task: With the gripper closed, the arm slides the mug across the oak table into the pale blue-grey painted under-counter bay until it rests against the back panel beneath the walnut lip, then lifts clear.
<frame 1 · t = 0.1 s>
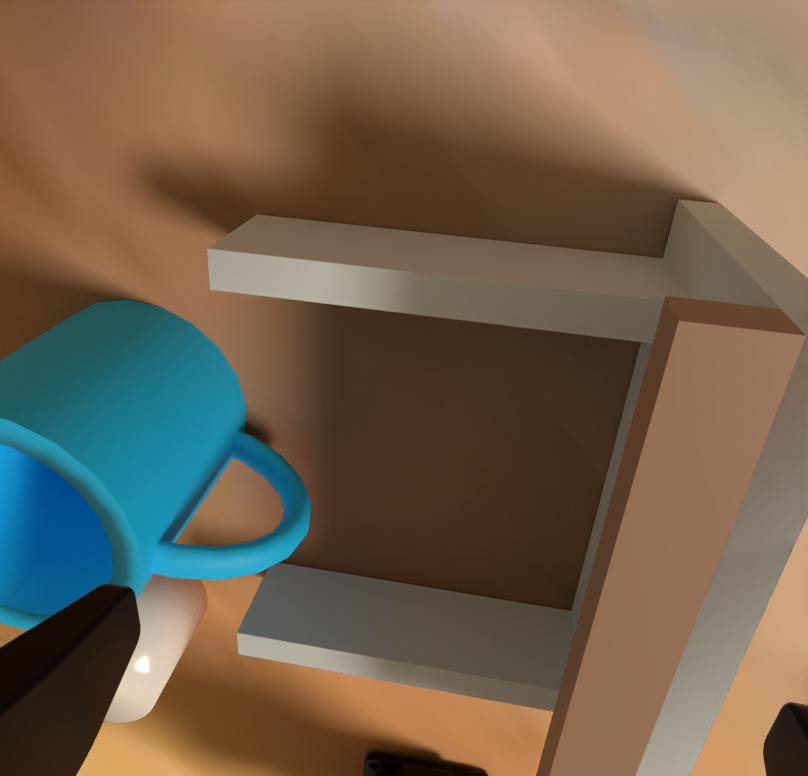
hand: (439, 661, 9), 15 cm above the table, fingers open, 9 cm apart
mug: (195, 411, 26), on the table
counter bay: (431, 449, 25), on the table
cream rounded cylinder: (150, 587, 31), on the table
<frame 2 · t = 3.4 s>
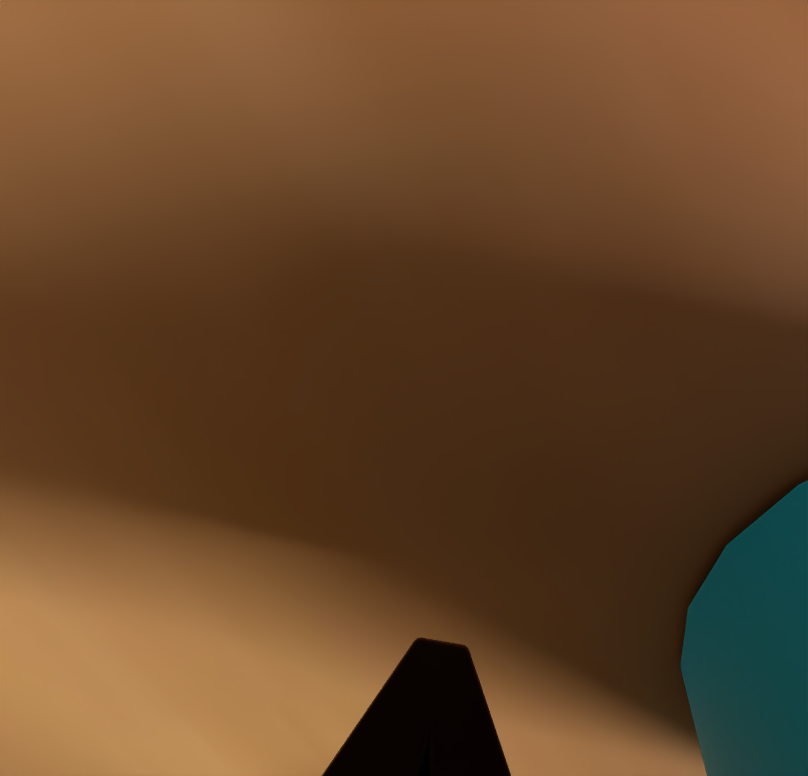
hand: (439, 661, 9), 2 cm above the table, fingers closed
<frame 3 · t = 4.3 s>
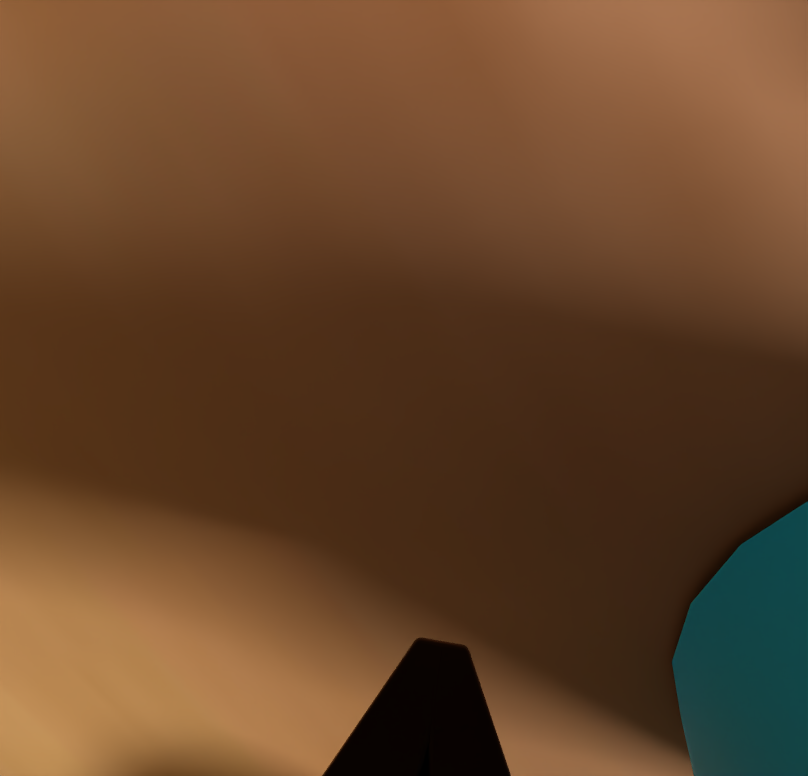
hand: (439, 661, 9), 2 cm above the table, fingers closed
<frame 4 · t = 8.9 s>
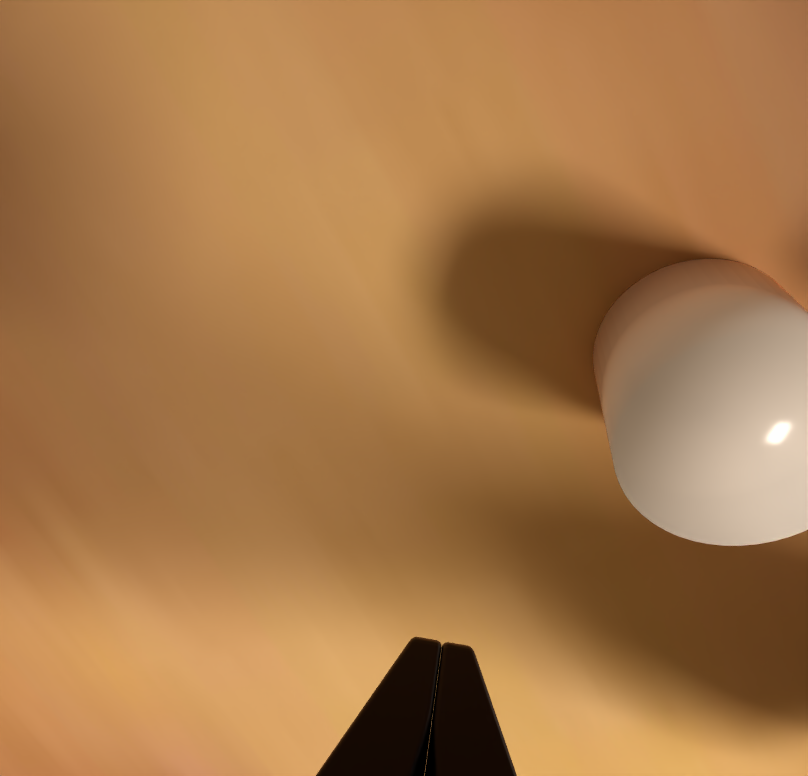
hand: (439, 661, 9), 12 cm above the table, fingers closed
cream rounded cylinder: (693, 353, 19), on the table
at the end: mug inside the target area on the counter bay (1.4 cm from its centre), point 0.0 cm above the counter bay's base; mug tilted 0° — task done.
